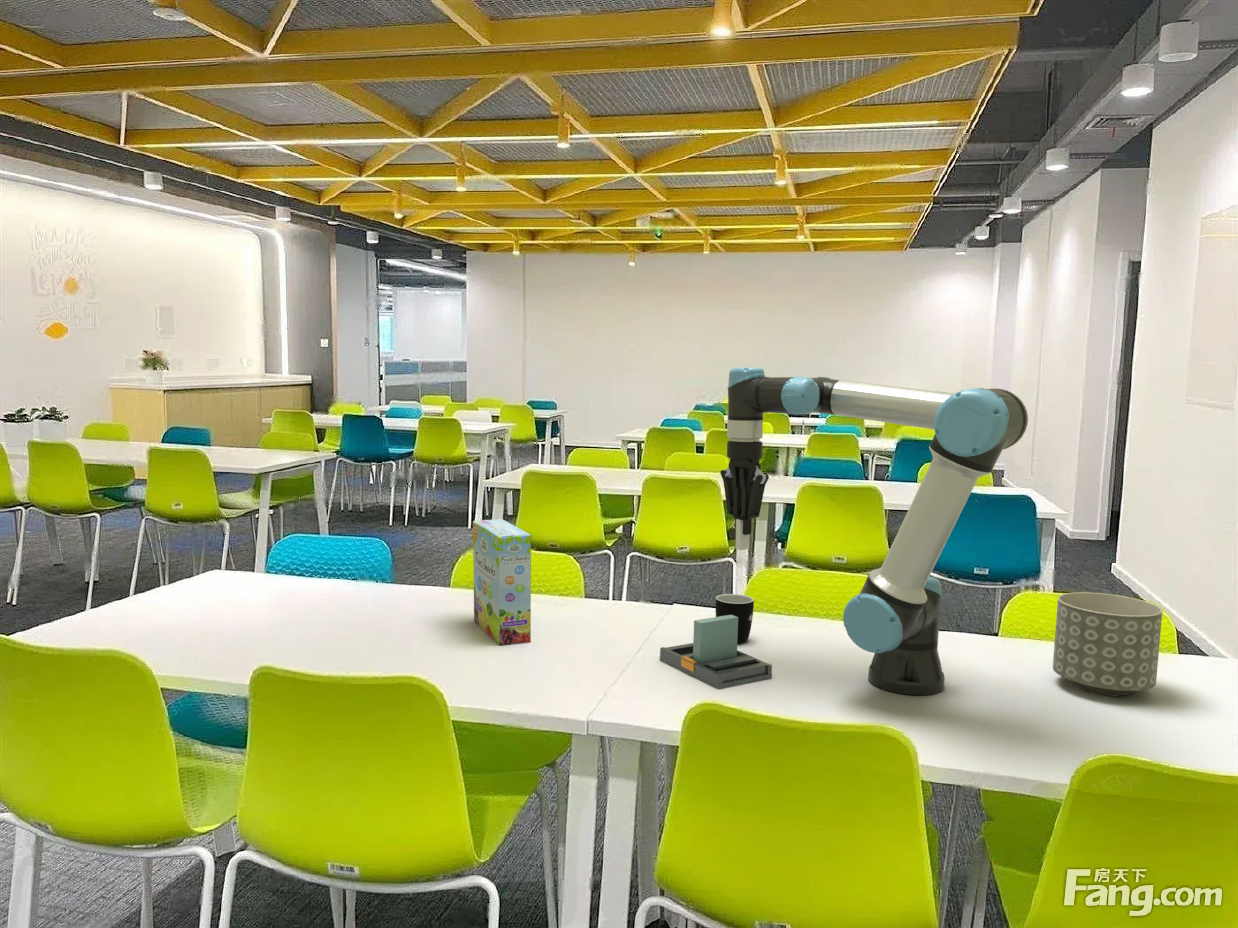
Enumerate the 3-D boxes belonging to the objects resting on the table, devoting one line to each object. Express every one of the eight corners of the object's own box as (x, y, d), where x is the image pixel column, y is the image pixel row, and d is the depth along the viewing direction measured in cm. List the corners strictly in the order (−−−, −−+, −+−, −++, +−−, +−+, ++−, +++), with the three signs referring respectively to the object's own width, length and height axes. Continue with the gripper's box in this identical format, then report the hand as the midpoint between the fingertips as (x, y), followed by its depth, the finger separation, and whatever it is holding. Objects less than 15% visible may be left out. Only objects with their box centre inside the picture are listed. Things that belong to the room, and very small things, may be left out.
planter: (1064, 667, 206) (1071, 587, 204) (1162, 688, 194) (1170, 603, 192) (1040, 689, 191) (1046, 603, 189) (1144, 713, 179) (1152, 621, 178)
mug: (753, 646, 216) (754, 604, 215) (714, 644, 217) (715, 602, 216) (750, 632, 228) (752, 591, 227) (714, 630, 229) (715, 589, 228)
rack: (771, 678, 194) (772, 661, 194) (717, 689, 187) (718, 672, 186) (710, 650, 212) (710, 635, 212) (658, 659, 205) (659, 644, 204)
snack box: (470, 622, 231) (470, 519, 228) (503, 618, 235) (504, 518, 232) (496, 646, 211) (497, 535, 209) (532, 642, 215) (534, 533, 212)
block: (736, 662, 201) (738, 617, 200) (699, 669, 196) (700, 623, 195) (729, 659, 203) (731, 614, 202) (692, 666, 198) (694, 620, 197)
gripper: (779, 441, 196) (776, 552, 198) (737, 437, 206) (735, 542, 208) (752, 442, 191) (750, 555, 193) (711, 438, 202) (709, 545, 204)
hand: (742, 548), depth 201 cm, fingers closed
